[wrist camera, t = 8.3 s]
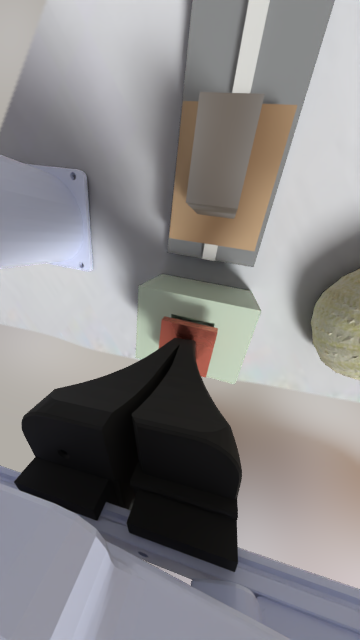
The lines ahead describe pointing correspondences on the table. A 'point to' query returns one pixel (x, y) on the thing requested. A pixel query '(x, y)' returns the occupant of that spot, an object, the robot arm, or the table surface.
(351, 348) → the sea urchin shell
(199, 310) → the pale green block
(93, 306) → the table surface
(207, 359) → the button
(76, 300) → the table surface
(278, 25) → the track
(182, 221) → the carriage
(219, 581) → the robot arm
